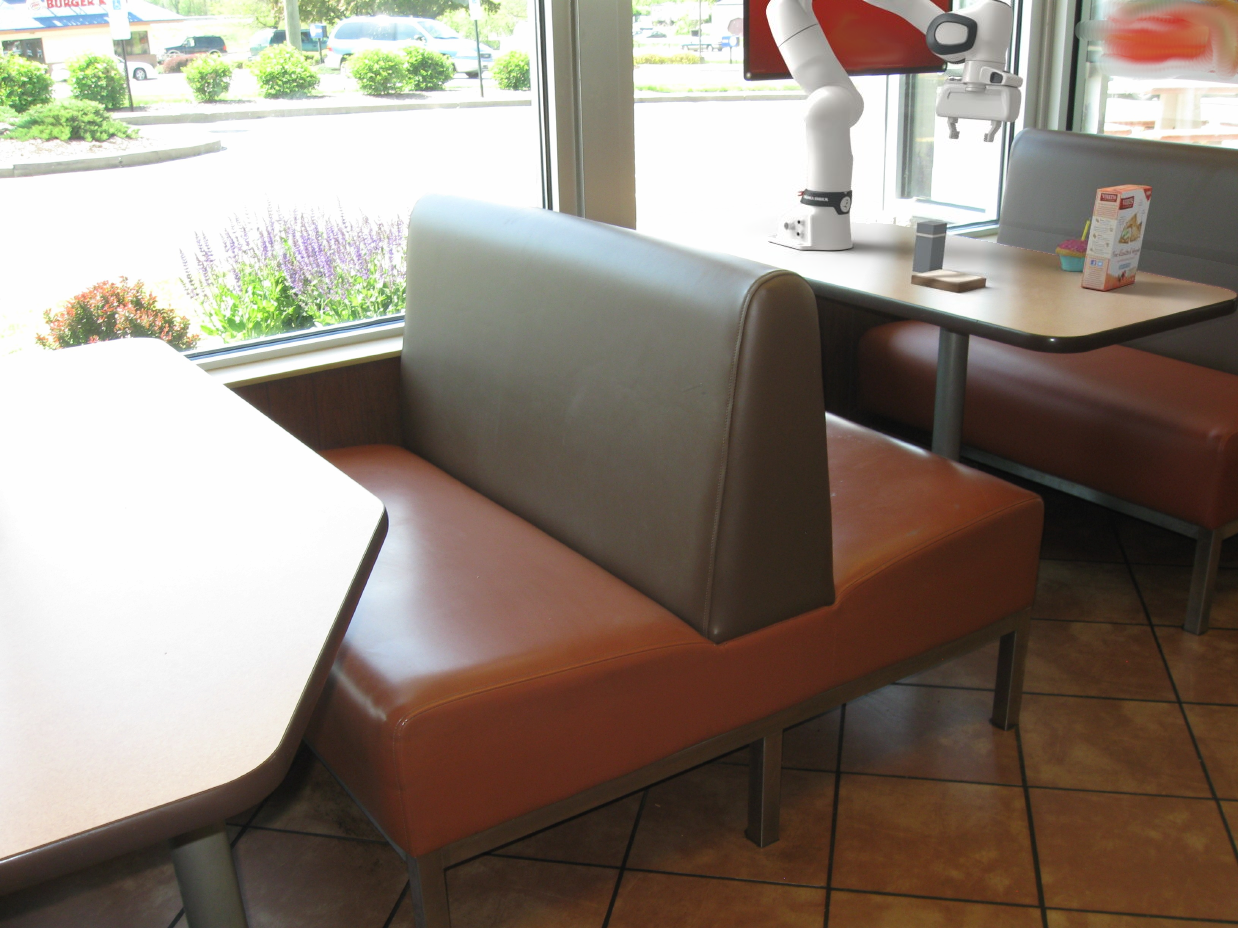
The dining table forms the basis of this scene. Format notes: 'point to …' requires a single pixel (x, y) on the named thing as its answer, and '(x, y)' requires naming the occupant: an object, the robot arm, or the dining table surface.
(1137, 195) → the cracker box
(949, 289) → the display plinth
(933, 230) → the grey upright pillar block
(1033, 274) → the dining table surface
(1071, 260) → the cupcake
